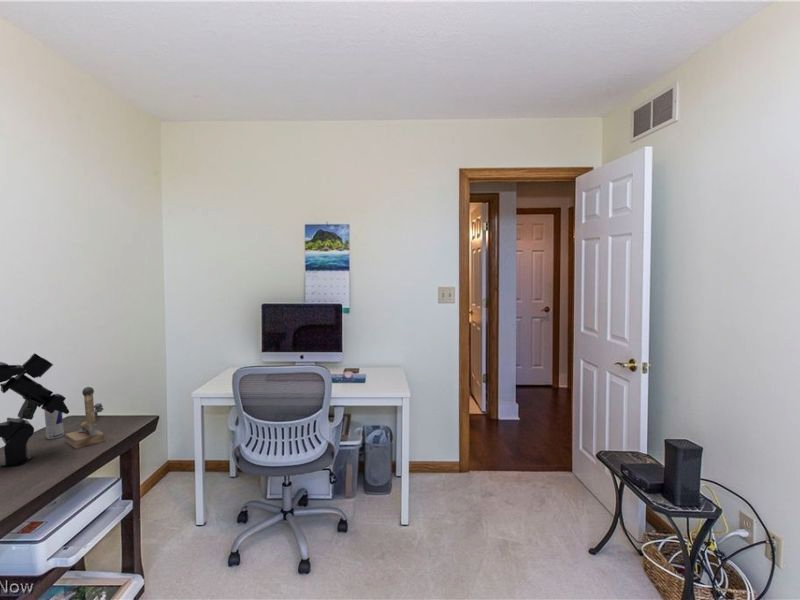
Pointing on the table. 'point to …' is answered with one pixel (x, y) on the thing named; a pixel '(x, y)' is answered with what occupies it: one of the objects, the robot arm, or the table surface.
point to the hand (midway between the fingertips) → (68, 412)
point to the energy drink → (54, 424)
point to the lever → (89, 406)
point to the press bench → (84, 436)
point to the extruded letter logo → (97, 410)
